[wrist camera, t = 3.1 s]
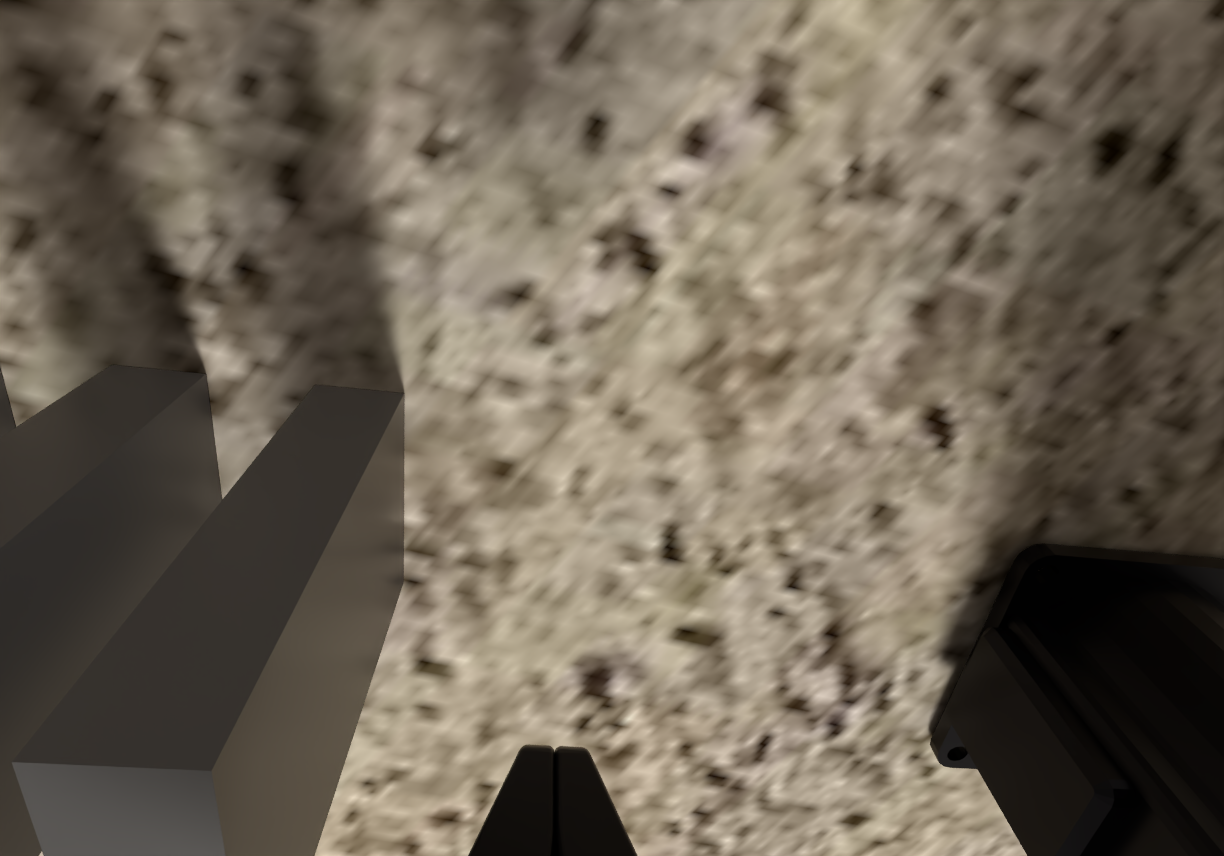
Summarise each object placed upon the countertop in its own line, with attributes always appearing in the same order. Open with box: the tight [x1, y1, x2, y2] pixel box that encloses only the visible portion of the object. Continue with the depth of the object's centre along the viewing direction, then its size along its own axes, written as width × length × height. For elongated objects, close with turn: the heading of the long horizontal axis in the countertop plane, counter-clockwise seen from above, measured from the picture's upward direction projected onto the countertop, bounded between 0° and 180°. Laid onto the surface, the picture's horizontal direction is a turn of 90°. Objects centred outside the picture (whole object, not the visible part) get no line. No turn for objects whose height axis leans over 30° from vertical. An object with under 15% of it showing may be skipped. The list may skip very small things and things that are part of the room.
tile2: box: [0, 365, 222, 856], centre depth 10 cm, size 2×4×8 cm, turn 172°
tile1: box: [12, 385, 404, 856], centre depth 11 cm, size 2×4×8 cm, turn 173°
